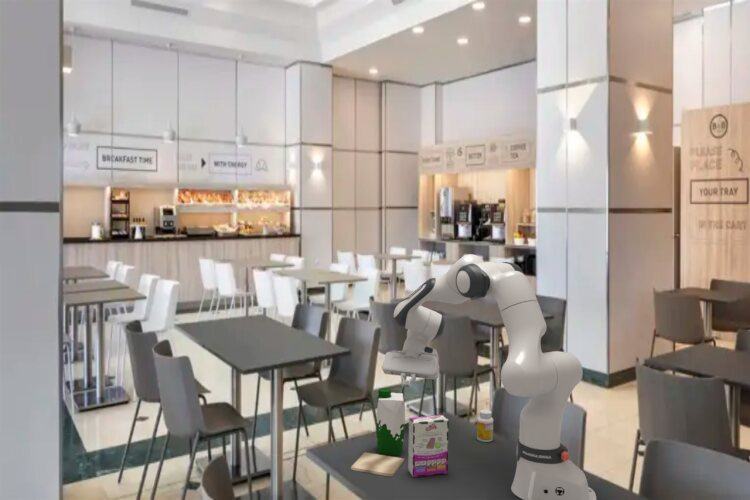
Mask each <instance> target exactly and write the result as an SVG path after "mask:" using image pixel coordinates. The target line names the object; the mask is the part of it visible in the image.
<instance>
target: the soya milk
mask: <svg viewBox="0 0 750 500" xmlns="http://www.w3.org/2000/svg"><path fill="white" fill-rule="evenodd" d="M377 391H378V395H377V406H376V407H377V408H376V426H375V427H376V431H375V432H376V444H377V445H376V446H377V452H378V453H377V454H378V455H385V456H402V453H403V446H404V439H405V428H406V425H405V422H406V421H405V420H406V412H405V401H404V393H400V392H398V393H397V392H392V390H391V389H390V388H388V387H387V388H386V387H383V388H382V387H381V388H378V390H377Z"/></svg>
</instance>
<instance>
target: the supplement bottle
mask: <svg viewBox="0 0 750 500" xmlns="http://www.w3.org/2000/svg"><path fill="white" fill-rule="evenodd" d="M492 413H493V412H492V411H491V410H490V409H481V410H479V416H478V417H477V423H476V424H477V426H476V439H477V440H478V441H480V442H483V443H487V442H488V443H489V442H492V441H493V440H494V439H493V438H494V434H493V433H494V418H493V417H492V416H493V415H492Z"/></svg>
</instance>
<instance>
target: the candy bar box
mask: <svg viewBox="0 0 750 500" xmlns="http://www.w3.org/2000/svg"><path fill="white" fill-rule="evenodd" d="M449 423H450V422H449V418H447V417H446V416H445V415H444V414H439V415H438V414H437V415H427V416H415V417H409V418H408V457H407V458H408V460H407V461H408V466H407V467H408V469H407V470H408V472H409V473H410V475H411V476H412V477H413V478H420V477H429V476H436V475H439V476H440V475H446V474H447V475H448V473H449V429H450V428H449V426H450V425H449Z"/></svg>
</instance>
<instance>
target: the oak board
mask: <svg viewBox="0 0 750 500" xmlns="http://www.w3.org/2000/svg"><path fill="white" fill-rule="evenodd" d="M404 462H405V458H401V457H397V456H392V455H379V453H373V452H372V453H371V452H363V453H362V455H360V457H359V458H358V459H357V460H356V461H355V462H354V463H353V464H352V465H351V466H350V470H351V471H354V472H360V473H361V472H362V473H367V474H373V475H379V476H385V477H391V478H393V476H395V474H396V473H397V471H398V470H399V469H400V467H401V466H402V465H403V463H404Z"/></svg>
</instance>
